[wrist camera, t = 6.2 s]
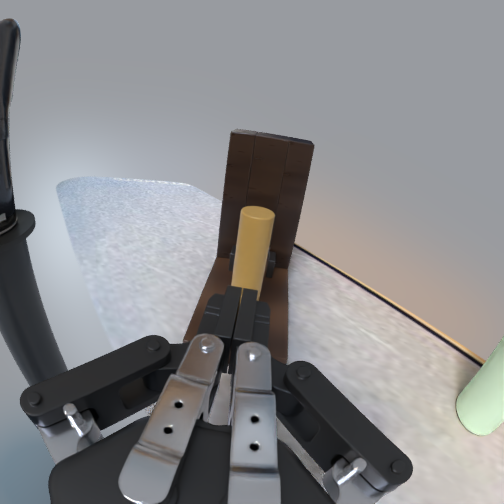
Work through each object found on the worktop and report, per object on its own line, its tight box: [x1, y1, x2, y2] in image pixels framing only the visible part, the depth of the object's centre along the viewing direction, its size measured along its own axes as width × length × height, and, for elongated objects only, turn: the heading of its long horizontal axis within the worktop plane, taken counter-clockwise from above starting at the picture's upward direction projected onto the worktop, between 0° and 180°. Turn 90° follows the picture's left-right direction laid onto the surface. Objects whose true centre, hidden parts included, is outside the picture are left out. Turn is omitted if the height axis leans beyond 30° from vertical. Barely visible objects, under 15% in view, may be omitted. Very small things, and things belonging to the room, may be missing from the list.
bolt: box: [231, 206, 275, 302], centre depth 21 cm, size 6×2×8 cm, turn 174°
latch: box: [183, 129, 314, 364], centre depth 23 cm, size 15×7×14 cm, turn 174°
